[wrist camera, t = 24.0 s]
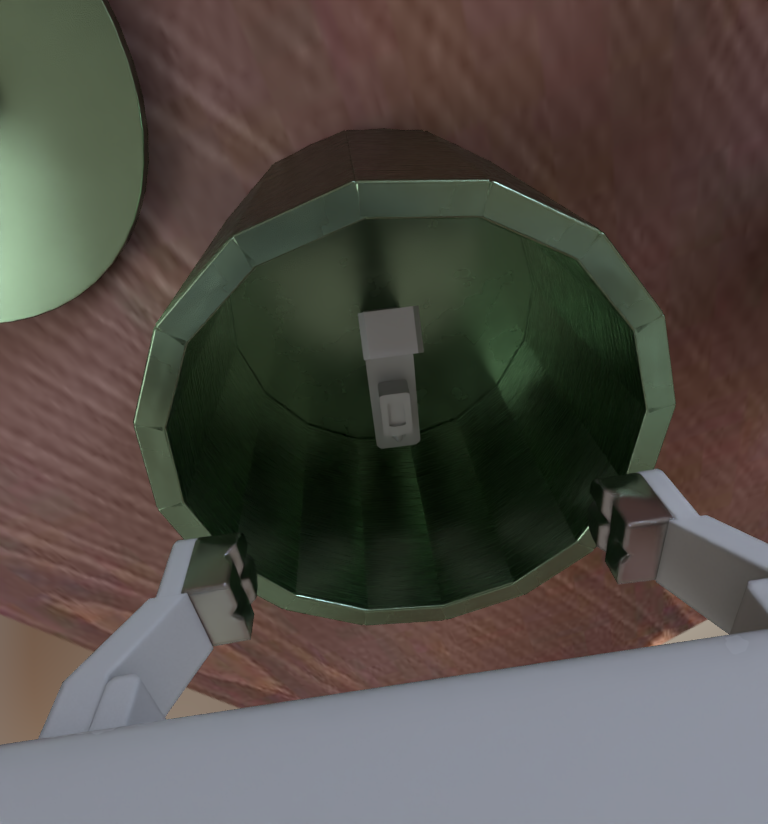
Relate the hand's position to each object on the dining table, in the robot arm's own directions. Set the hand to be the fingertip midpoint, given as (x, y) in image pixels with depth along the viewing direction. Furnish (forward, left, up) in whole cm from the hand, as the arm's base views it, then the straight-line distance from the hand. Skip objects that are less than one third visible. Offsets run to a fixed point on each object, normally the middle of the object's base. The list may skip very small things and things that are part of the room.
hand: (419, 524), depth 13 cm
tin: (0, 0, -13) cm, 13 cm away
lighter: (0, 0, -13) cm, 13 cm away
